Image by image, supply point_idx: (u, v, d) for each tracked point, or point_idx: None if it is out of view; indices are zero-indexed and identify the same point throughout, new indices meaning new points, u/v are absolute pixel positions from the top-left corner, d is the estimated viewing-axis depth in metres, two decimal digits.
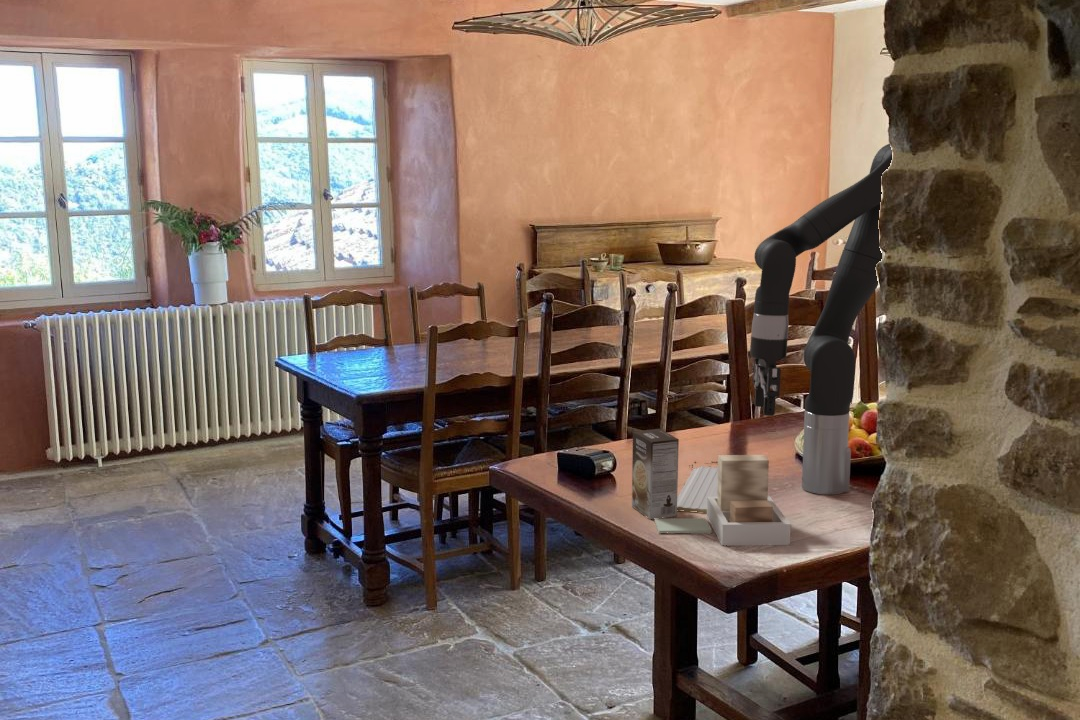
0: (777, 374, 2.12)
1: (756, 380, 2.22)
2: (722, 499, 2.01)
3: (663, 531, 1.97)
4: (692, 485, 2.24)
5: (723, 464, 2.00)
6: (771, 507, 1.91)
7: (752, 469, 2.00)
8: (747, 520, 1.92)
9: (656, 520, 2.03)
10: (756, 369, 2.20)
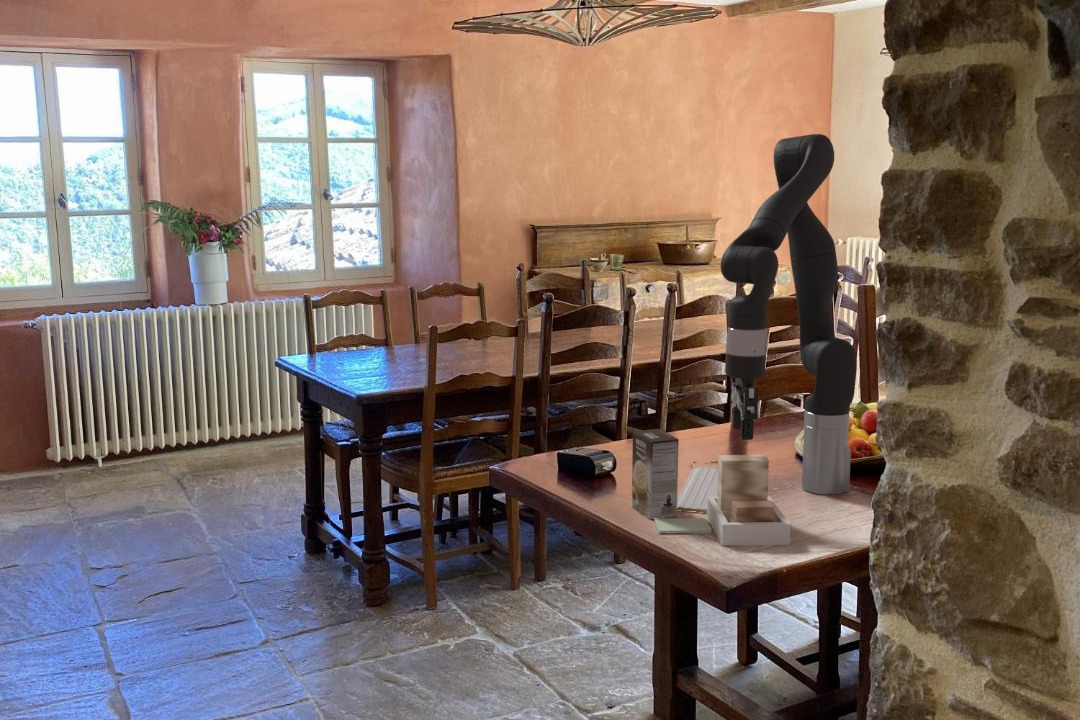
0: (754, 394, 1.92)
1: (733, 400, 2.03)
2: (722, 499, 2.01)
3: (663, 531, 1.97)
4: (692, 485, 2.24)
5: (723, 464, 2.00)
6: (772, 507, 1.91)
7: (752, 469, 2.00)
8: (748, 520, 1.91)
9: (656, 520, 2.03)
10: (733, 389, 2.00)
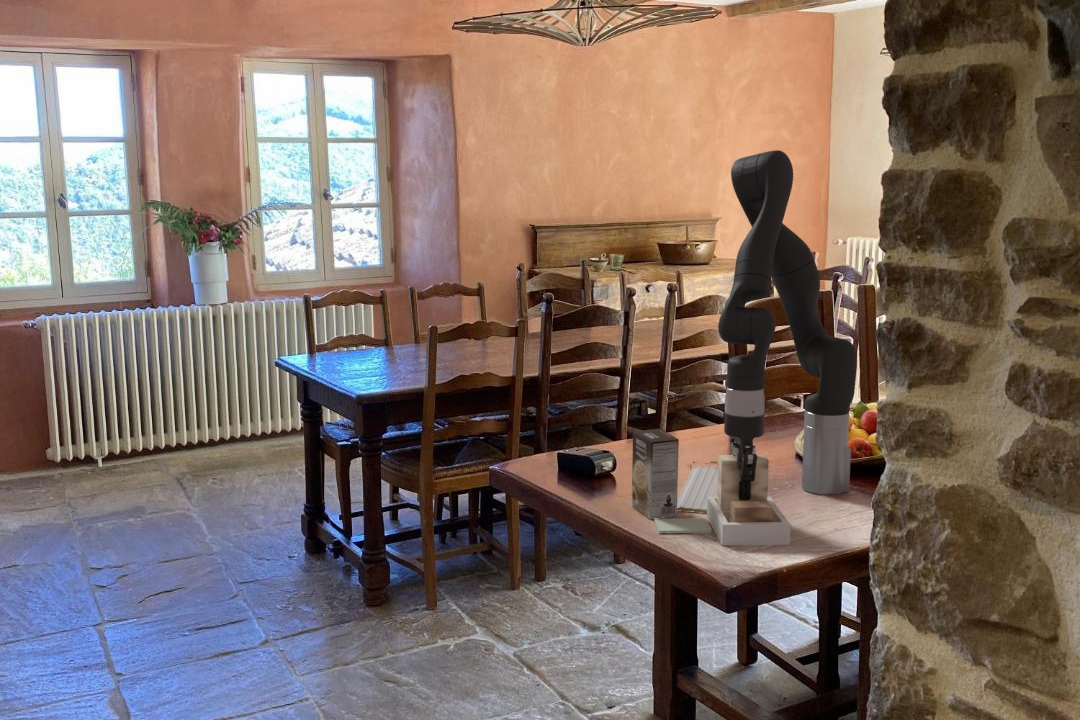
0: (753, 462, 1.95)
1: None
2: (722, 499, 2.01)
3: (663, 531, 1.97)
4: (692, 485, 2.24)
5: (723, 464, 1.99)
6: (771, 508, 1.91)
7: None
8: (747, 520, 1.91)
9: (656, 520, 2.03)
10: (732, 447, 2.02)
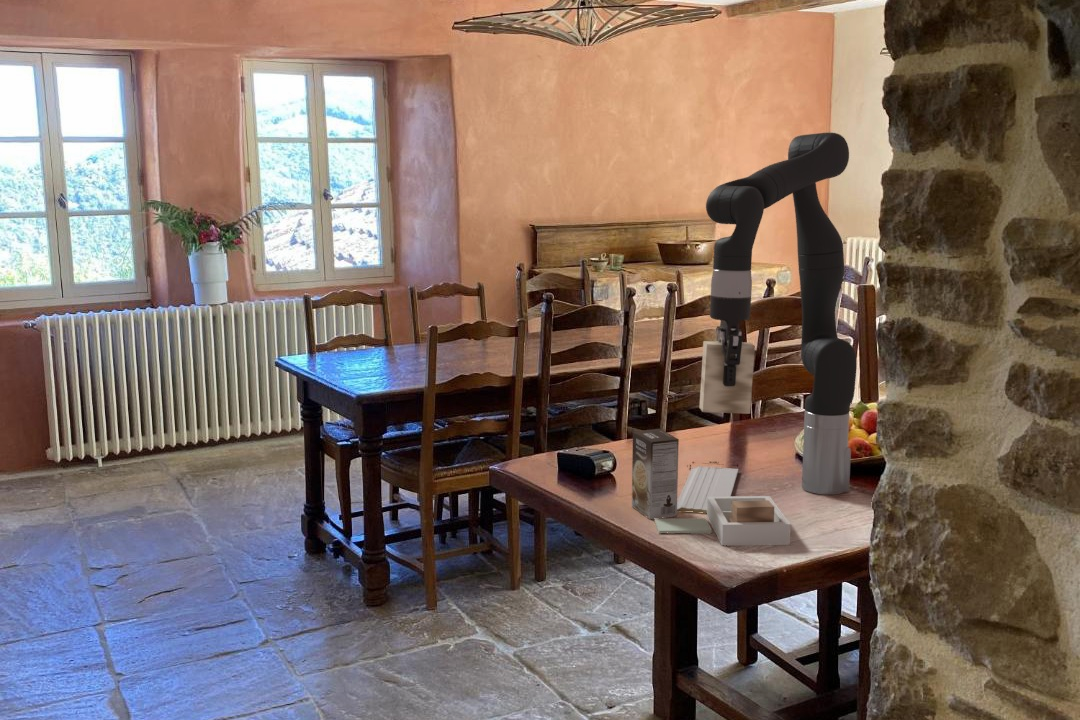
0: (738, 343, 1.90)
1: None
2: (705, 384, 1.96)
3: (663, 531, 1.97)
4: (692, 486, 2.24)
5: (708, 348, 1.95)
6: (772, 507, 1.91)
7: None
8: (748, 520, 1.91)
9: (656, 520, 2.03)
10: (717, 332, 1.97)
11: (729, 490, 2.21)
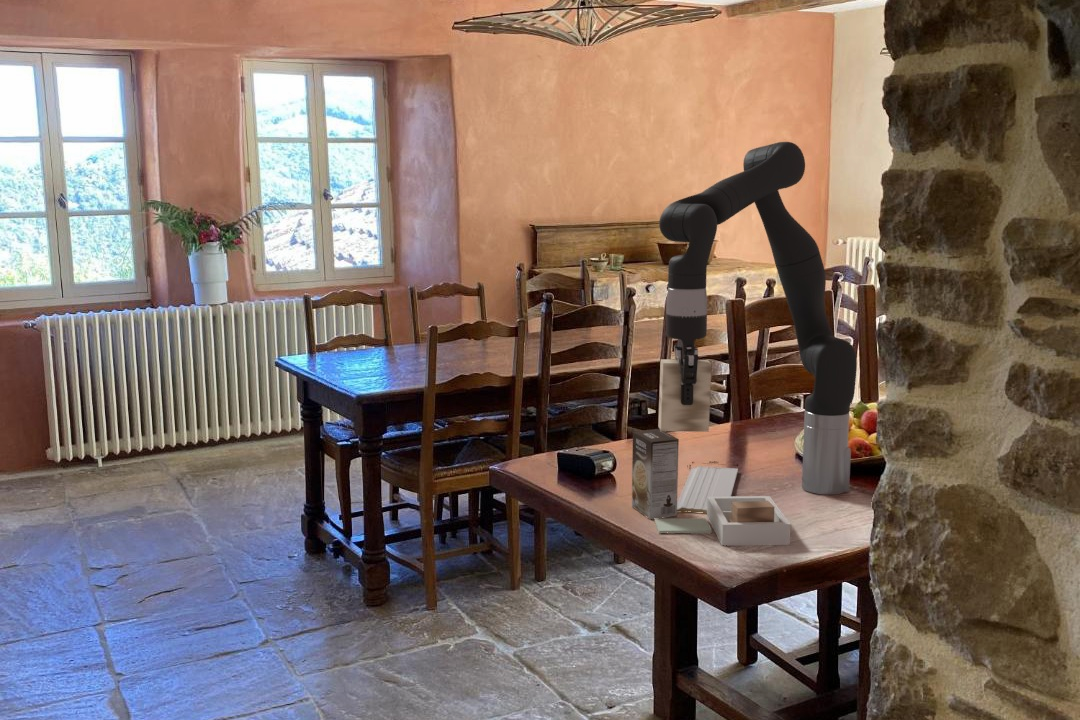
0: (694, 362, 1.88)
1: None
2: (663, 403, 1.94)
3: (663, 531, 1.97)
4: (693, 486, 2.24)
5: (664, 367, 1.93)
6: (773, 507, 1.91)
7: None
8: (749, 521, 1.91)
9: (656, 520, 2.03)
10: (674, 350, 1.96)
11: (729, 490, 2.21)
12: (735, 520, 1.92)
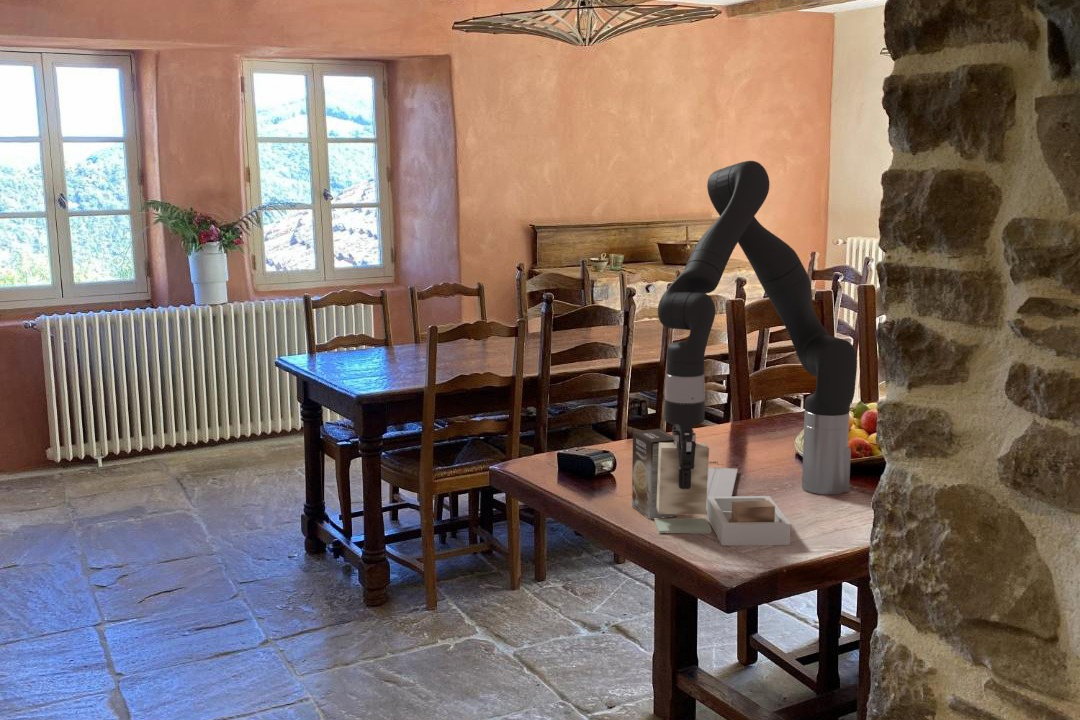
0: (691, 449, 1.91)
1: None
2: (661, 487, 1.97)
3: (663, 531, 1.97)
4: None
5: (662, 451, 1.96)
6: (773, 507, 1.92)
7: None
8: (750, 520, 1.91)
9: (656, 520, 2.03)
10: (672, 434, 1.99)
11: (729, 490, 2.21)
12: (736, 520, 1.92)
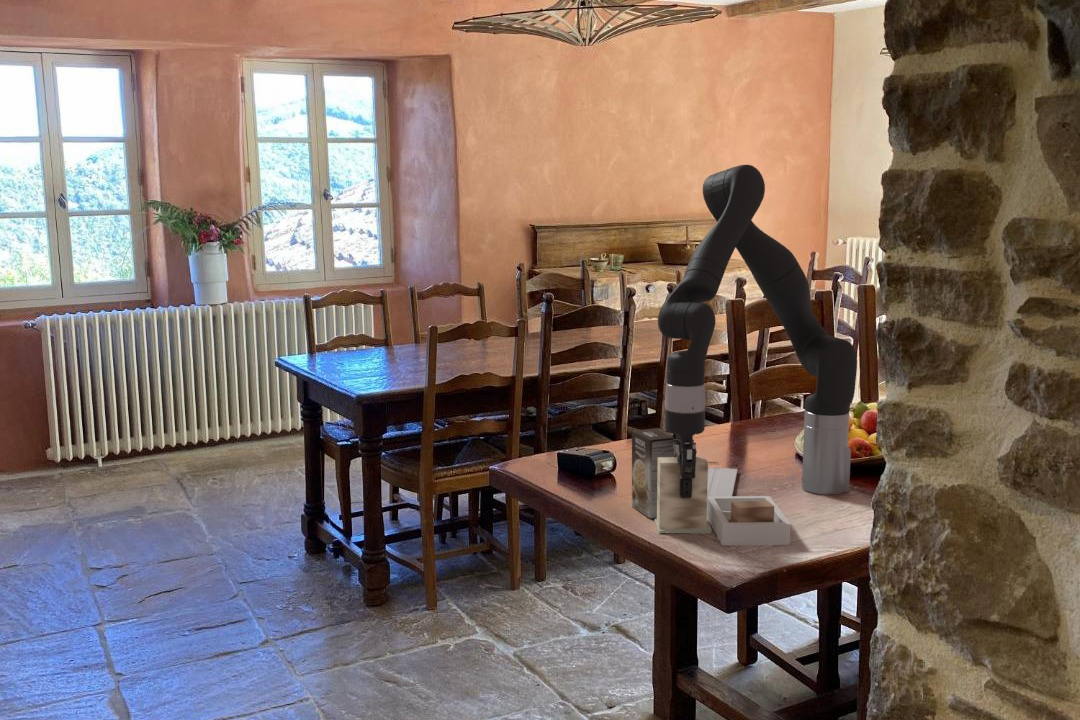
0: (692, 456, 1.91)
1: None
2: (661, 502, 1.97)
3: (663, 531, 1.97)
4: None
5: (661, 466, 1.96)
6: (772, 507, 1.92)
7: None
8: (749, 520, 1.92)
9: (656, 520, 2.03)
10: (673, 444, 1.99)
11: (730, 490, 2.21)
12: (735, 520, 1.92)
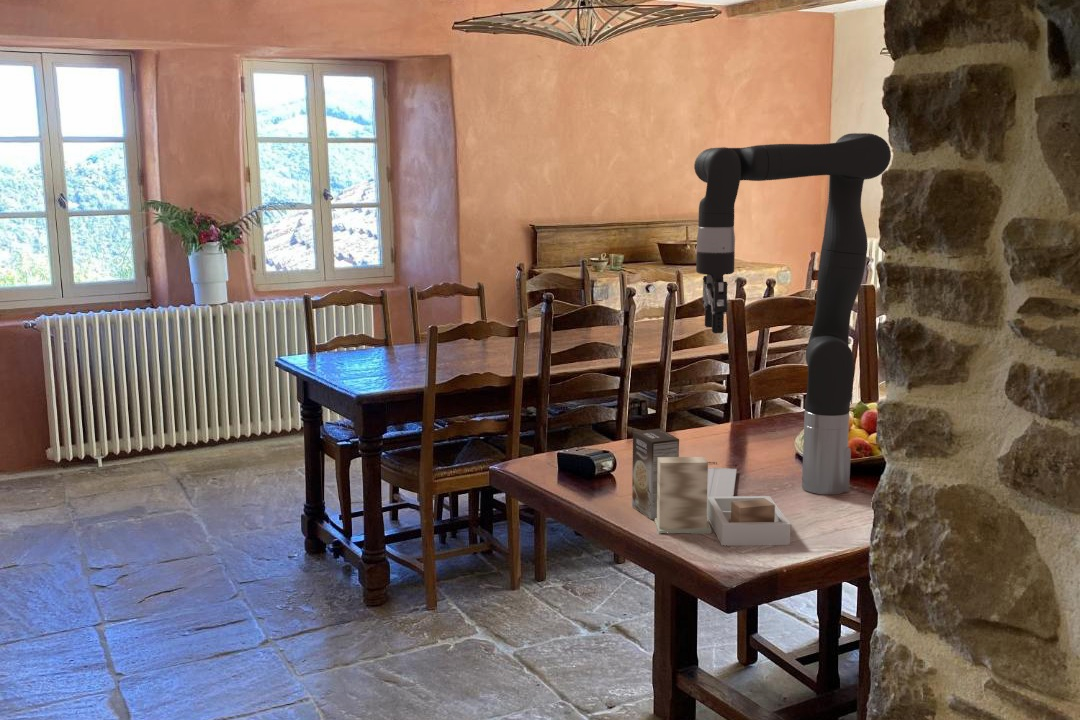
0: (724, 288, 2.02)
1: (705, 299, 2.12)
2: (661, 502, 1.97)
3: (663, 531, 1.97)
4: None
5: (661, 466, 1.96)
6: (773, 505, 1.92)
7: (691, 472, 1.96)
8: (751, 520, 1.92)
9: (656, 520, 2.03)
10: (704, 286, 2.10)
11: (730, 490, 2.21)
12: (737, 520, 1.92)
